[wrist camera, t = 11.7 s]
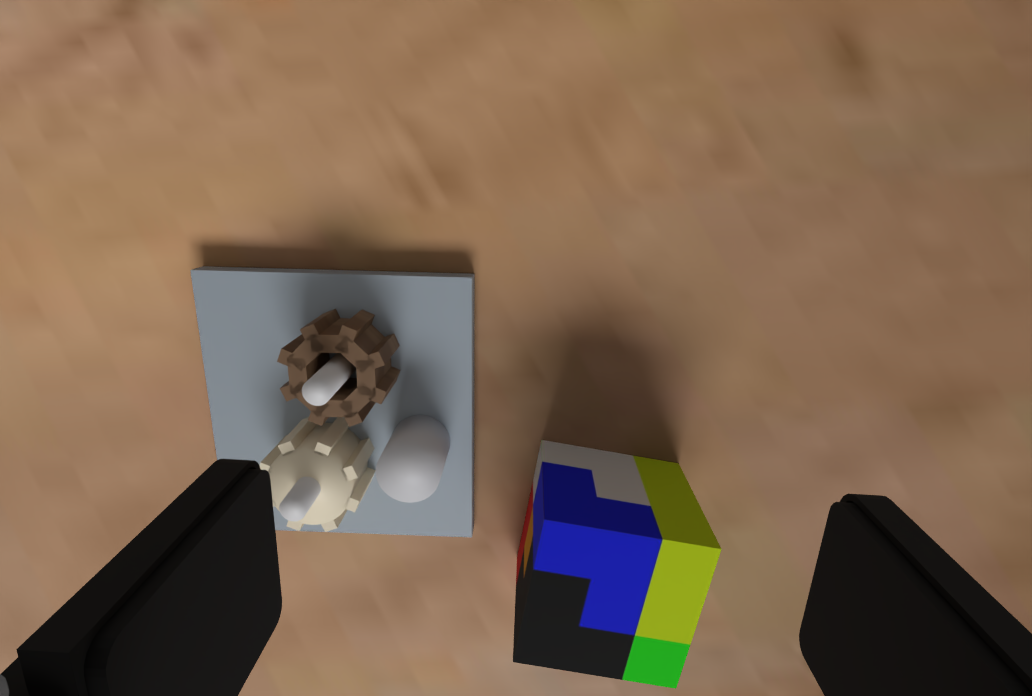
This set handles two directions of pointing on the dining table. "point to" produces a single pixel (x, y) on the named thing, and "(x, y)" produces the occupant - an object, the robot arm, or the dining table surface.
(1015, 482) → the dining table surface
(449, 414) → the gear board
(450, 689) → the dining table surface
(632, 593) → the puzzle toy
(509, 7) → the dining table surface
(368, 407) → the walnut gear
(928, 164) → the dining table surface
